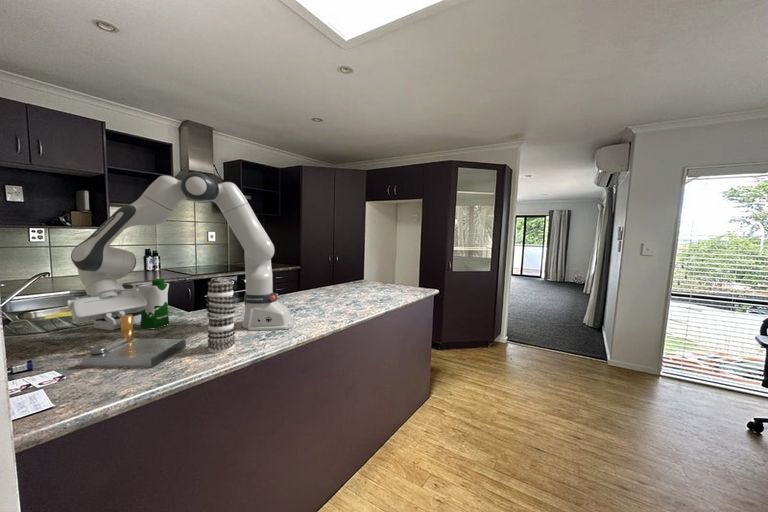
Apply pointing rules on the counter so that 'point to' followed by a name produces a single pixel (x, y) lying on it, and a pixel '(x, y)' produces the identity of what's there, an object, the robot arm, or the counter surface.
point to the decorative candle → (220, 315)
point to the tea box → (108, 326)
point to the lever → (126, 335)
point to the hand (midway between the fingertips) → (118, 324)
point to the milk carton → (155, 304)
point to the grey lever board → (136, 353)
